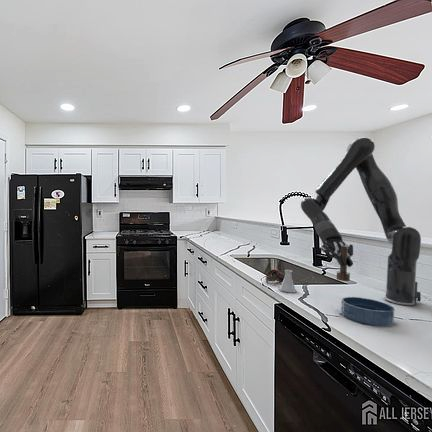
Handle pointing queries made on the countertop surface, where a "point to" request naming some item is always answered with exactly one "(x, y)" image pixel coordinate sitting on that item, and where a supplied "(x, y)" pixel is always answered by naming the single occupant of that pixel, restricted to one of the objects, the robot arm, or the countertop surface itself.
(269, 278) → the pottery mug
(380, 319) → the mixing bowl
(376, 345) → the countertop surface
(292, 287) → the flask
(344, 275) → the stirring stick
